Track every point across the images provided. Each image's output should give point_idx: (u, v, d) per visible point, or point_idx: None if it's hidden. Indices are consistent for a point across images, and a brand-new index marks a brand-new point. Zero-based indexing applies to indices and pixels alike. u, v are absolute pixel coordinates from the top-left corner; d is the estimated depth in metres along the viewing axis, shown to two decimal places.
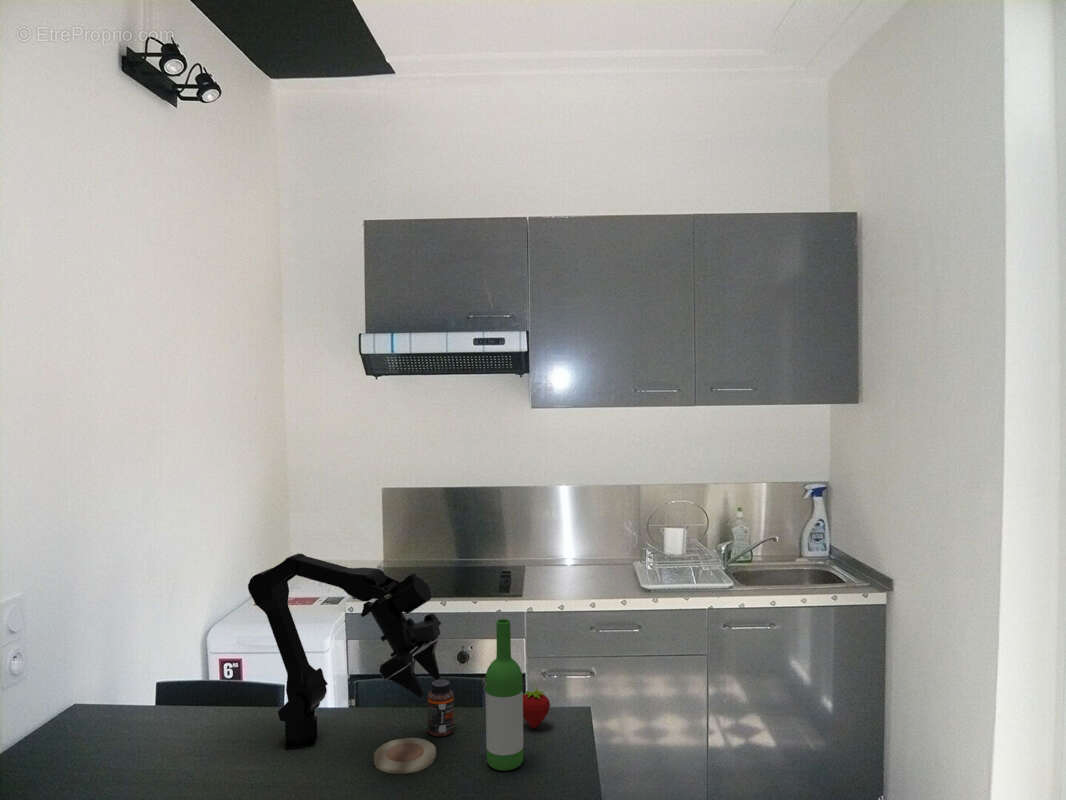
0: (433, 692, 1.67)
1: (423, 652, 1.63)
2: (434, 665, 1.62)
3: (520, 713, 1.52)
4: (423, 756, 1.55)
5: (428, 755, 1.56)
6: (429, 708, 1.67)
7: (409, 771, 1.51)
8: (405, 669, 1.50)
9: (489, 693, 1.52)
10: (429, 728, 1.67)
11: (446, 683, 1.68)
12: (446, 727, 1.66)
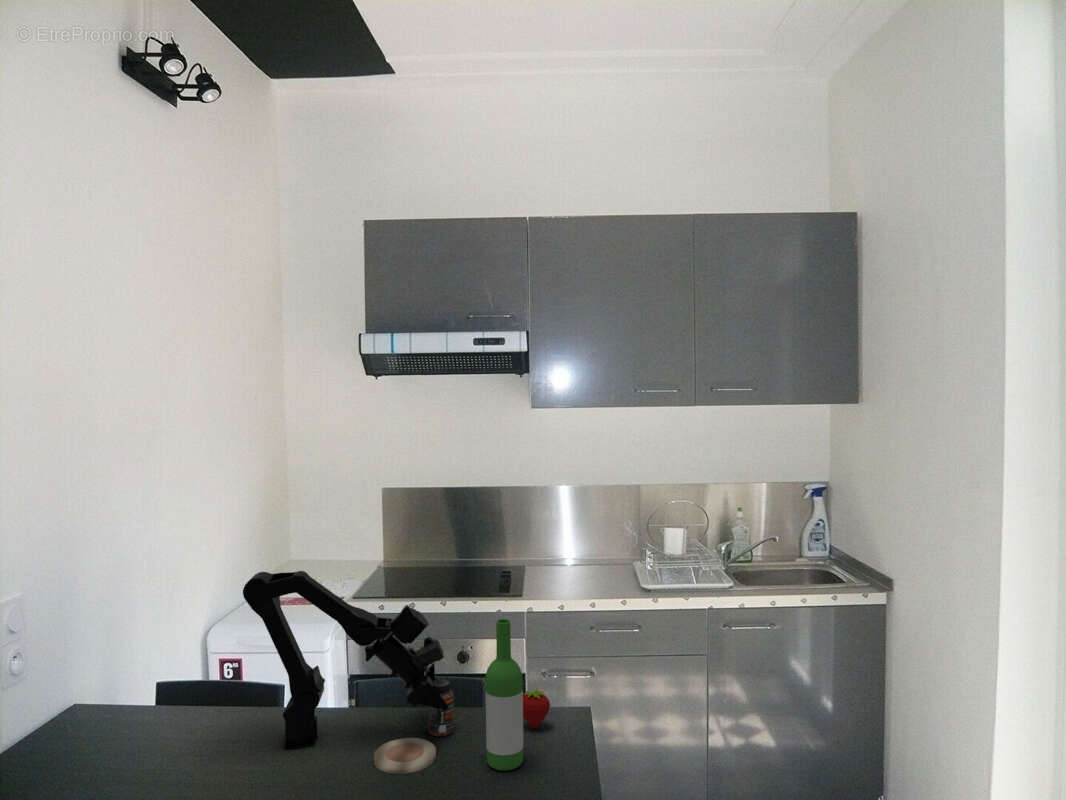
0: None
1: None
2: None
3: (520, 713, 1.52)
4: (423, 756, 1.55)
5: (428, 755, 1.56)
6: (429, 708, 1.67)
7: (409, 771, 1.51)
8: None
9: (489, 693, 1.52)
10: (429, 728, 1.67)
11: (446, 683, 1.68)
12: (446, 727, 1.66)
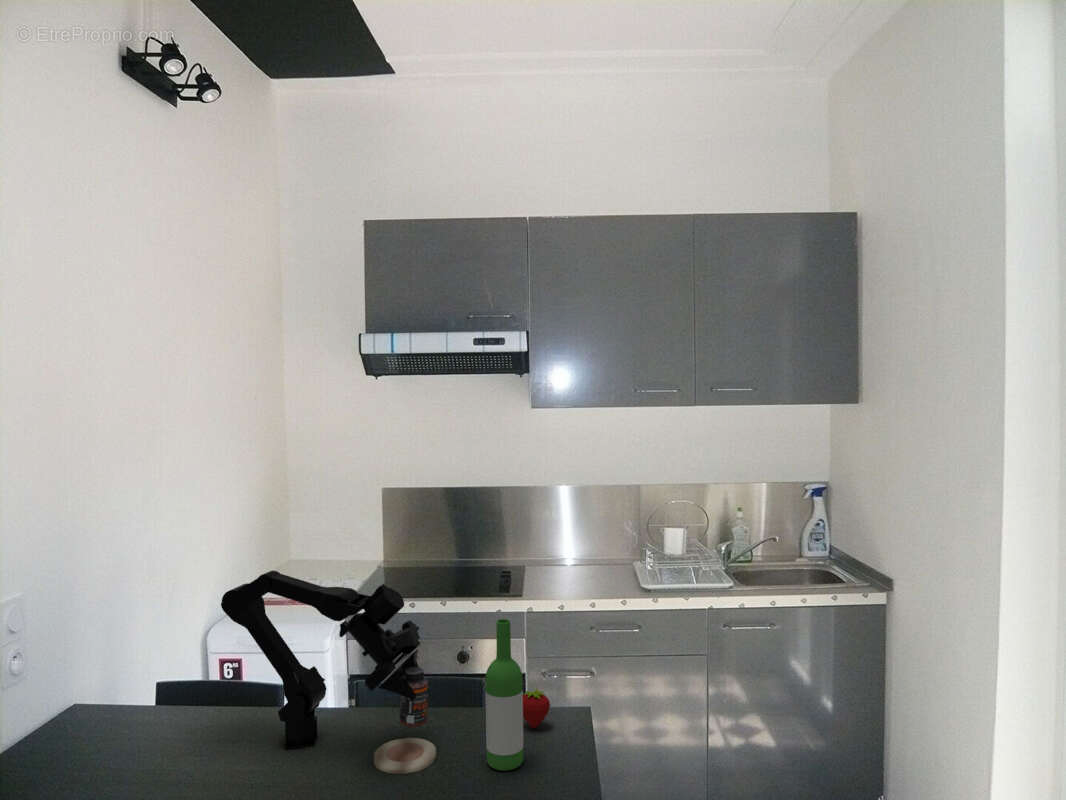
0: None
1: (405, 663, 1.63)
2: None
3: (520, 713, 1.52)
4: (423, 756, 1.55)
5: (428, 755, 1.56)
6: (400, 695, 1.58)
7: (409, 771, 1.51)
8: (393, 674, 1.53)
9: (489, 693, 1.52)
10: (400, 716, 1.58)
11: (418, 672, 1.58)
12: (415, 718, 1.56)
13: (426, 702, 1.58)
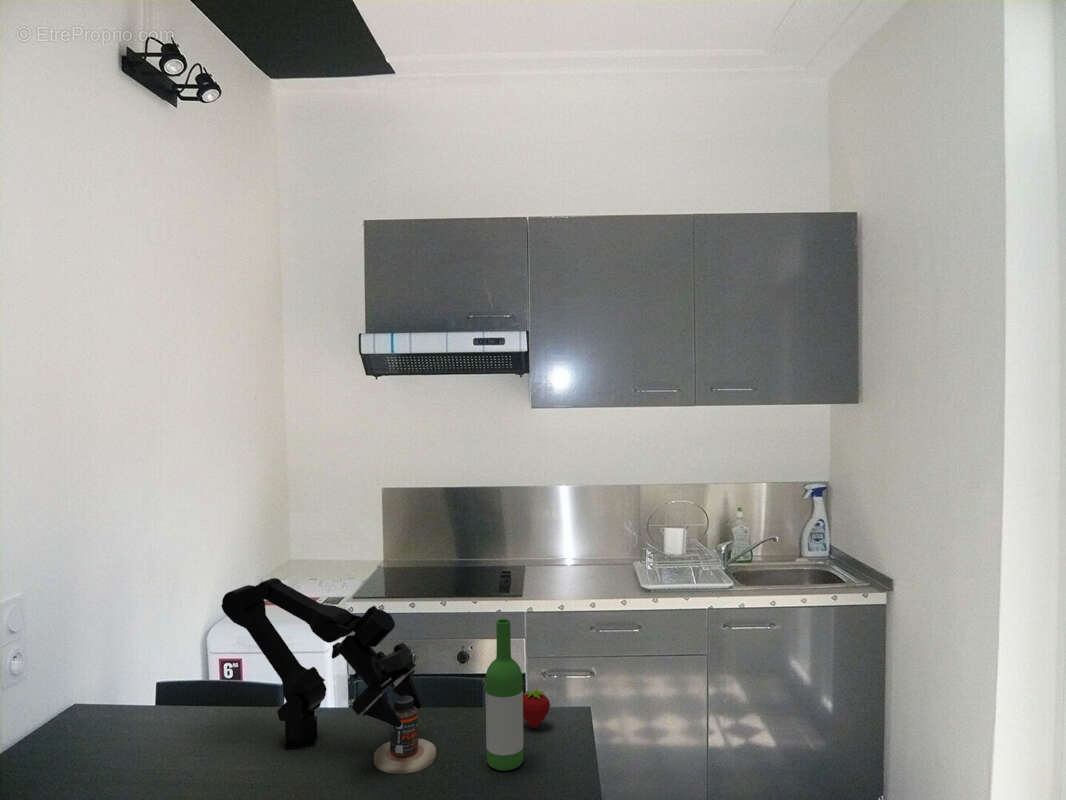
0: (394, 708, 1.56)
1: (401, 683, 1.63)
2: (413, 694, 1.61)
3: (520, 713, 1.52)
4: (423, 756, 1.55)
5: (428, 755, 1.56)
6: None
7: (409, 771, 1.51)
8: (376, 701, 1.50)
9: (489, 693, 1.52)
10: (390, 746, 1.56)
11: (407, 701, 1.56)
12: (404, 748, 1.54)
13: (416, 732, 1.56)
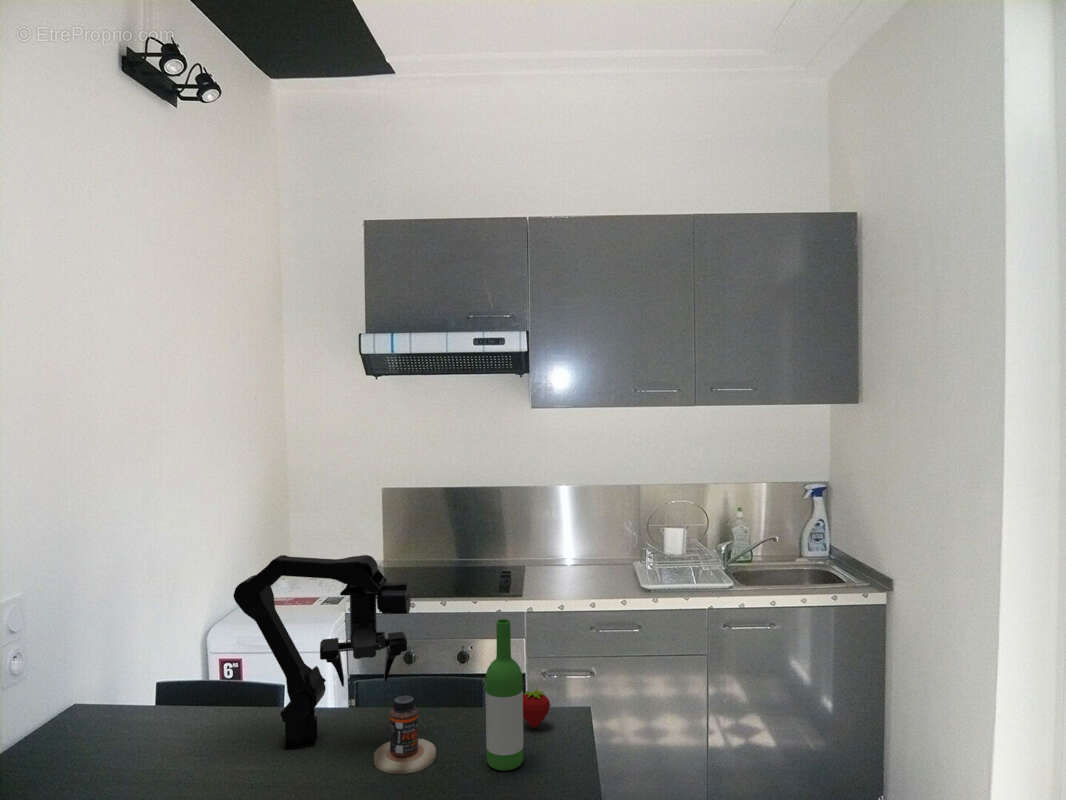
0: (394, 708, 1.56)
1: (387, 652, 1.66)
2: (385, 669, 1.65)
3: (520, 713, 1.52)
4: (423, 756, 1.55)
5: (428, 755, 1.56)
6: (390, 724, 1.56)
7: (409, 771, 1.51)
8: (326, 660, 1.60)
9: (489, 693, 1.52)
10: (390, 746, 1.56)
11: (408, 701, 1.56)
12: (404, 748, 1.54)
13: (416, 732, 1.56)
